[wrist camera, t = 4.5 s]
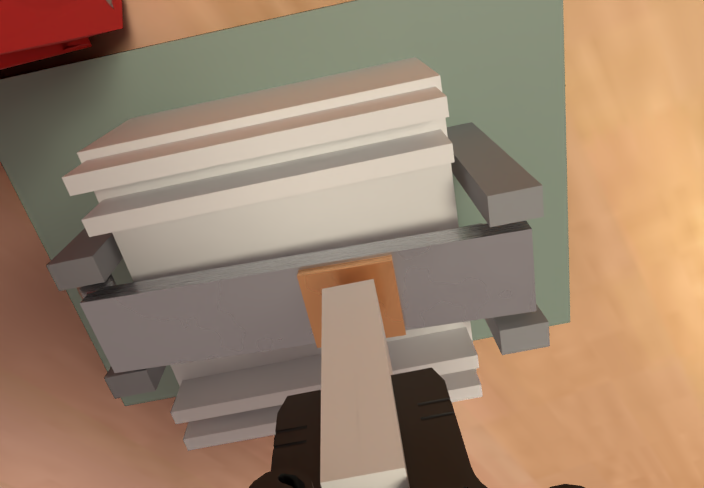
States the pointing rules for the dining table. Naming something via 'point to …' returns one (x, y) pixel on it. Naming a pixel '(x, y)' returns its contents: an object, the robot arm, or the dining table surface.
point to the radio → (52, 27)
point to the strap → (312, 296)
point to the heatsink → (299, 172)
